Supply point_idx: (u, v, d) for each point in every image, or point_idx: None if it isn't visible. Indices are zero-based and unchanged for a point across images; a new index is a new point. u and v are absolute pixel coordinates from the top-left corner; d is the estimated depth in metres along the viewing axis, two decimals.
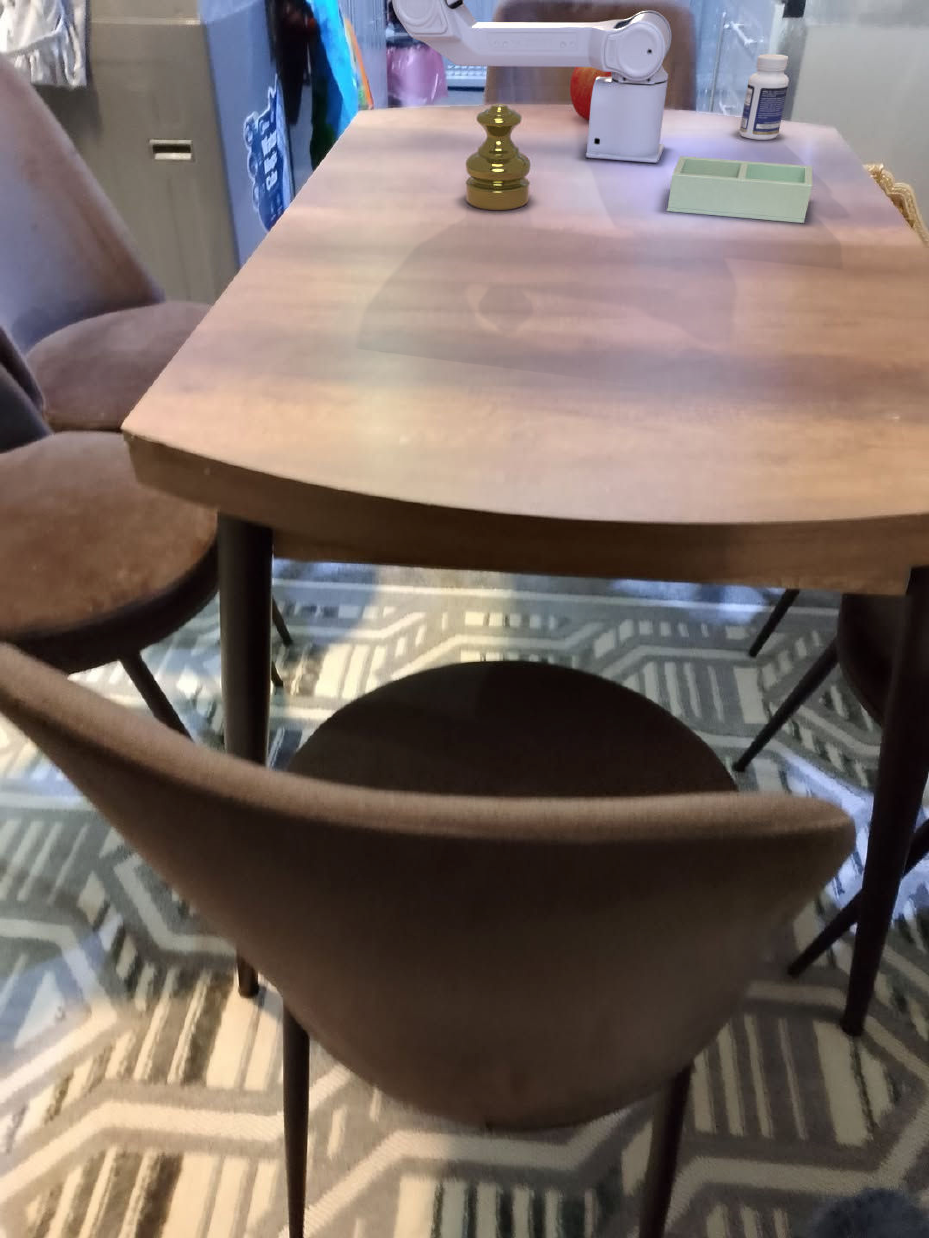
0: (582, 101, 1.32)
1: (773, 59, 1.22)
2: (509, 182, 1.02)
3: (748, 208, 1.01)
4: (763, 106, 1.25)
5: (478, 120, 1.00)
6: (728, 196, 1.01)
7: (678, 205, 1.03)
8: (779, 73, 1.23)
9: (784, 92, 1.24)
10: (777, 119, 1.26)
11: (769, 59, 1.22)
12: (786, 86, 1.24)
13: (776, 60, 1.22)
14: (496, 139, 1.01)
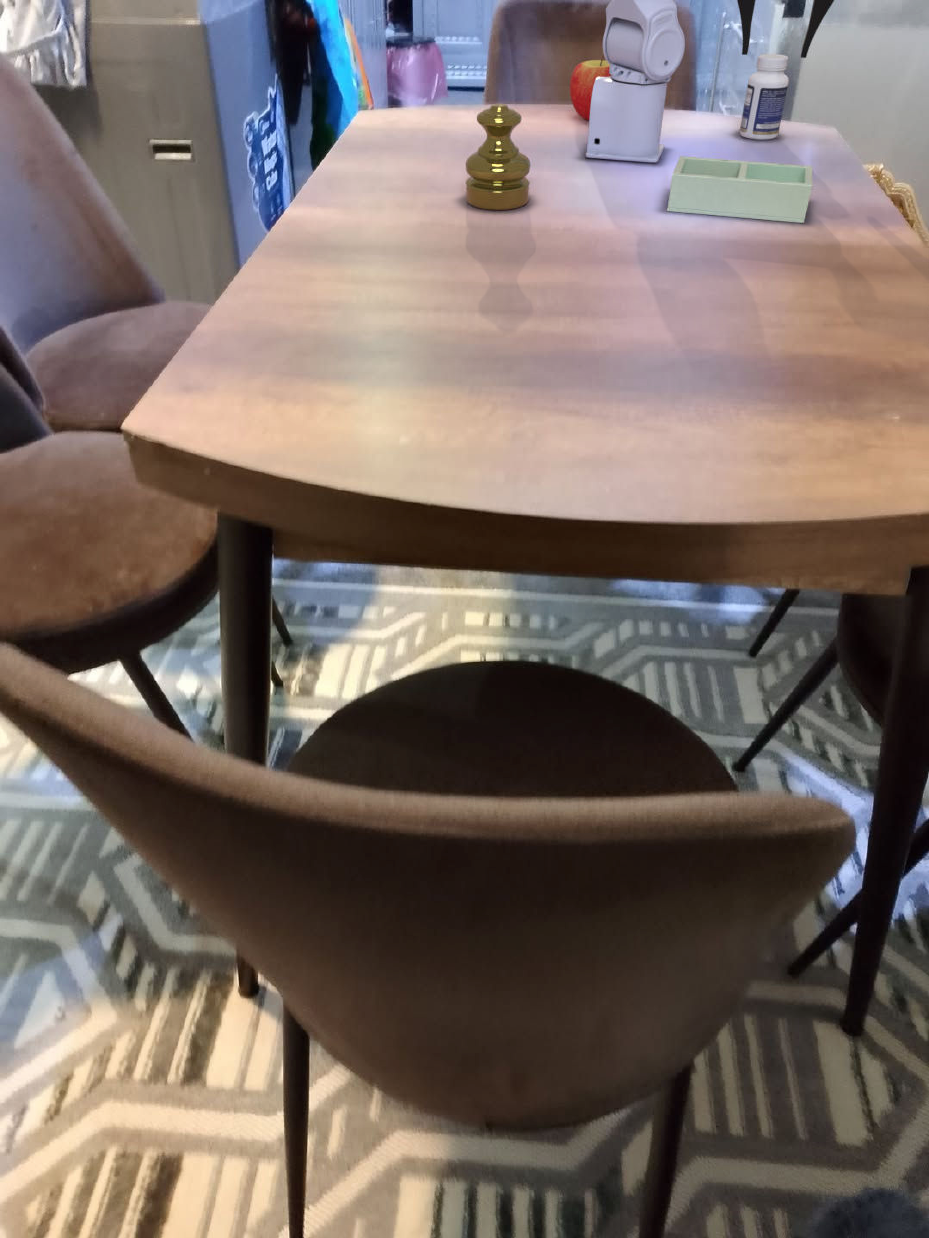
0: (582, 101, 1.32)
1: (773, 59, 1.22)
2: (509, 182, 1.02)
3: (748, 208, 1.01)
4: (763, 106, 1.25)
5: (478, 120, 1.00)
6: (728, 196, 1.01)
7: (678, 205, 1.03)
8: (779, 73, 1.23)
9: (784, 92, 1.24)
10: (777, 119, 1.26)
11: (769, 59, 1.22)
12: (786, 86, 1.24)
13: (776, 60, 1.22)
14: (496, 139, 1.01)
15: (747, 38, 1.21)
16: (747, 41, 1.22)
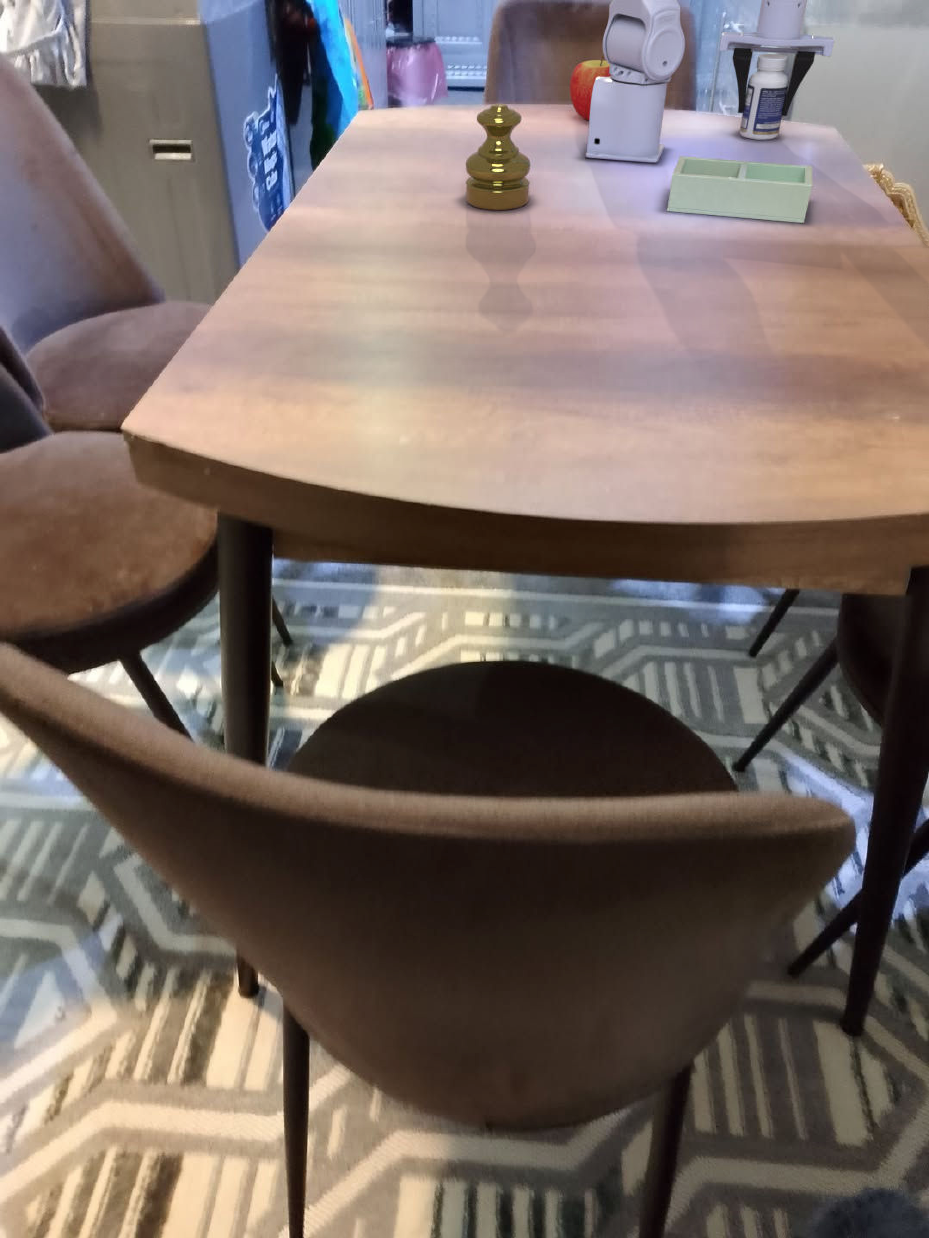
0: (582, 101, 1.32)
1: (773, 59, 1.22)
2: (509, 182, 1.02)
3: (748, 208, 1.01)
4: (763, 106, 1.25)
5: (478, 120, 1.00)
6: (728, 196, 1.01)
7: (678, 205, 1.03)
8: (779, 73, 1.23)
9: (784, 92, 1.24)
10: (777, 119, 1.26)
11: (769, 59, 1.22)
12: (786, 86, 1.24)
13: (776, 60, 1.22)
14: (496, 139, 1.01)
15: (743, 98, 1.26)
16: (743, 100, 1.26)
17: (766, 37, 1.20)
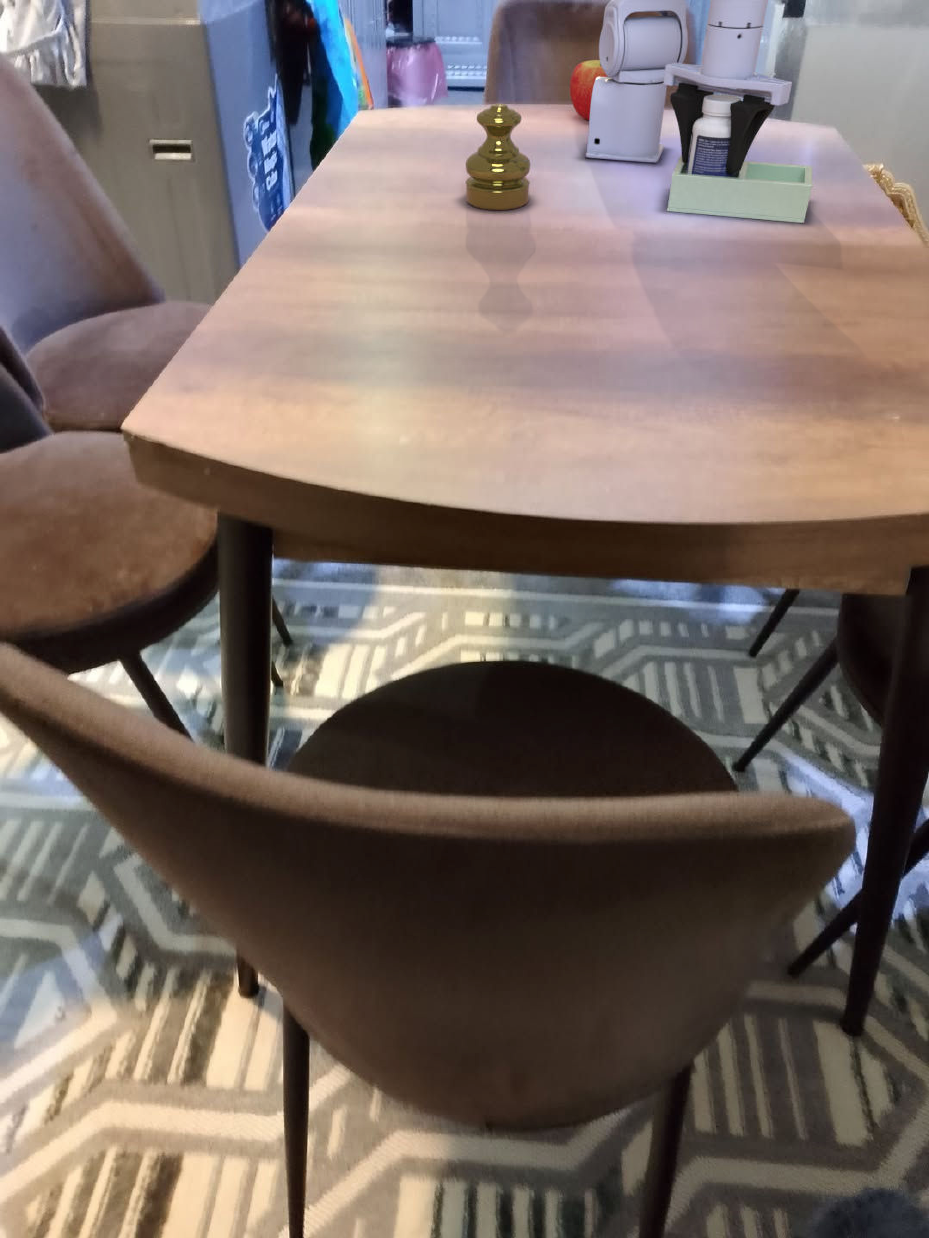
0: (582, 101, 1.32)
1: (713, 101, 0.98)
2: (509, 182, 1.02)
3: (748, 208, 1.01)
4: (698, 157, 1.01)
5: (478, 120, 1.00)
6: (728, 196, 1.01)
7: (678, 205, 1.03)
8: (722, 119, 0.98)
9: (728, 144, 0.99)
10: (718, 175, 1.01)
11: (709, 101, 0.98)
12: None
13: (717, 103, 0.97)
14: (496, 139, 1.01)
15: (685, 144, 1.03)
16: (685, 148, 1.03)
17: (702, 73, 0.96)
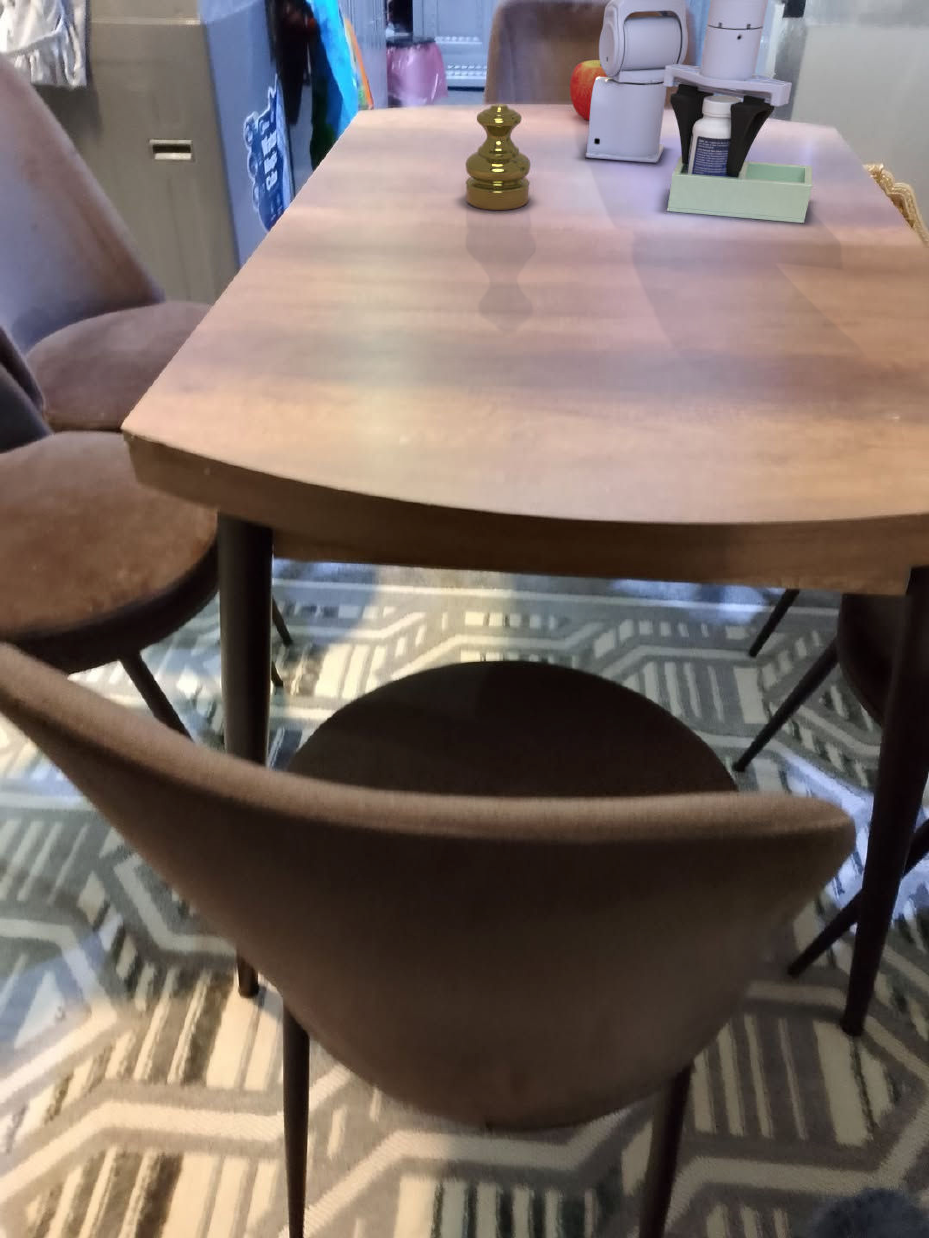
0: (582, 101, 1.32)
1: (713, 102, 0.98)
2: (509, 182, 1.02)
3: (748, 208, 1.01)
4: (699, 158, 1.01)
5: (478, 120, 1.00)
6: (728, 196, 1.01)
7: (678, 205, 1.03)
8: (722, 120, 0.98)
9: (728, 144, 0.99)
10: None
11: (709, 101, 0.98)
12: None
13: (717, 104, 0.97)
14: (496, 139, 1.01)
15: (685, 145, 1.03)
16: (685, 149, 1.03)
17: (702, 74, 0.96)
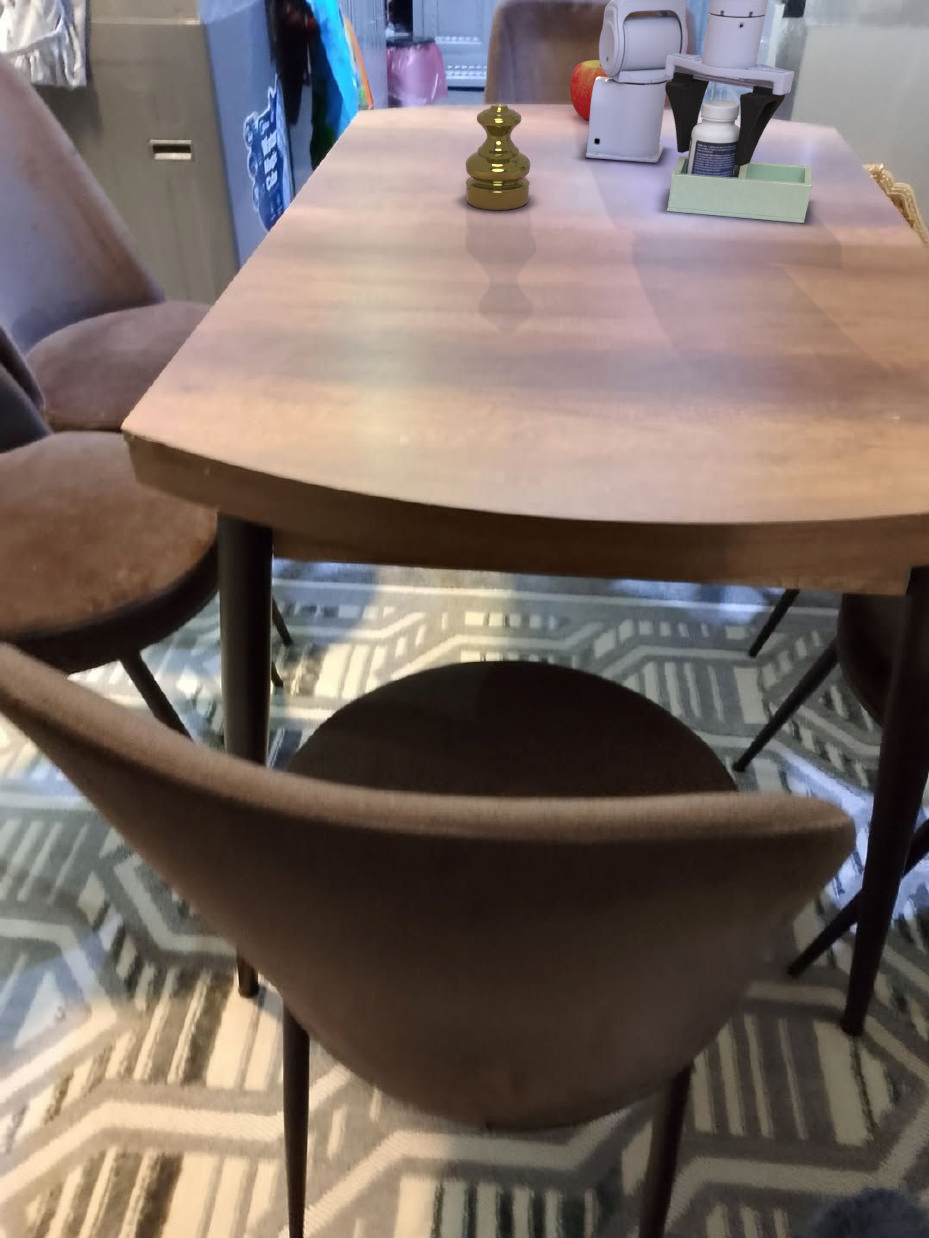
0: (582, 101, 1.32)
1: (712, 107, 0.98)
2: (509, 182, 1.02)
3: (748, 208, 1.01)
4: (698, 162, 1.01)
5: (478, 120, 1.00)
6: (728, 196, 1.01)
7: (678, 205, 1.03)
8: (721, 124, 0.99)
9: (726, 149, 1.00)
10: None
11: (708, 106, 0.98)
12: (730, 142, 0.99)
13: (715, 108, 0.98)
14: (496, 139, 1.01)
15: (680, 134, 1.02)
16: (680, 137, 1.03)
17: (704, 63, 0.96)
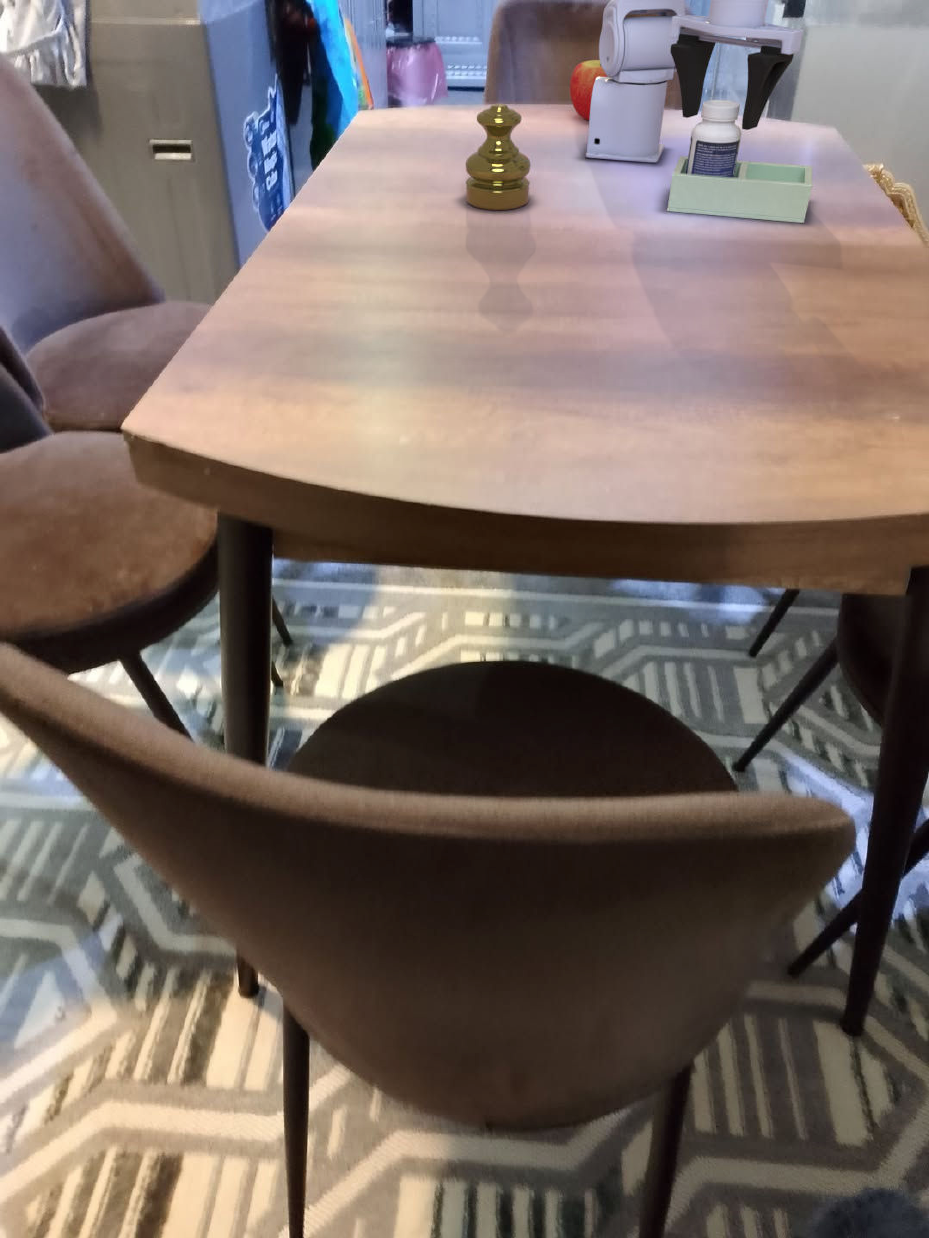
0: (582, 101, 1.32)
1: (712, 106, 0.98)
2: (509, 182, 1.02)
3: (748, 208, 1.01)
4: (698, 162, 1.01)
5: (478, 120, 1.00)
6: (728, 196, 1.01)
7: (678, 205, 1.03)
8: (721, 124, 0.99)
9: (726, 149, 1.00)
10: None
11: (708, 106, 0.98)
12: (730, 142, 0.99)
13: (715, 108, 0.98)
14: (496, 139, 1.01)
15: (685, 98, 1.00)
16: (686, 101, 1.00)
17: (710, 22, 0.93)
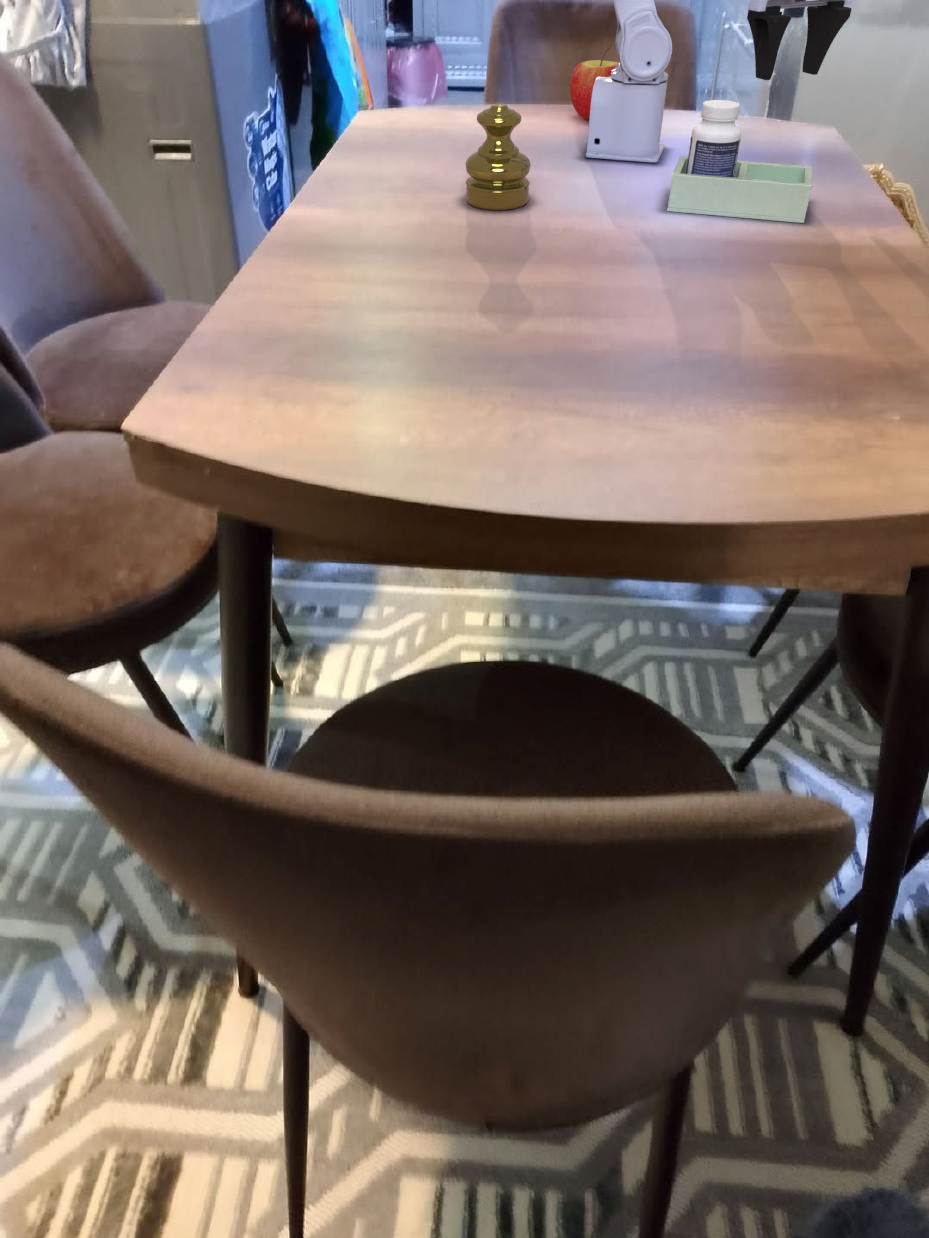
0: (582, 101, 1.32)
1: (712, 106, 0.98)
2: (509, 182, 1.02)
3: (748, 208, 1.01)
4: (698, 162, 1.01)
5: (478, 120, 1.00)
6: (728, 196, 1.01)
7: (678, 205, 1.03)
8: (721, 124, 0.99)
9: (726, 149, 1.00)
10: None
11: (708, 106, 0.98)
12: (730, 142, 0.99)
13: (716, 108, 0.98)
14: (496, 139, 1.01)
15: (774, 62, 1.11)
16: (773, 65, 1.12)
17: None
